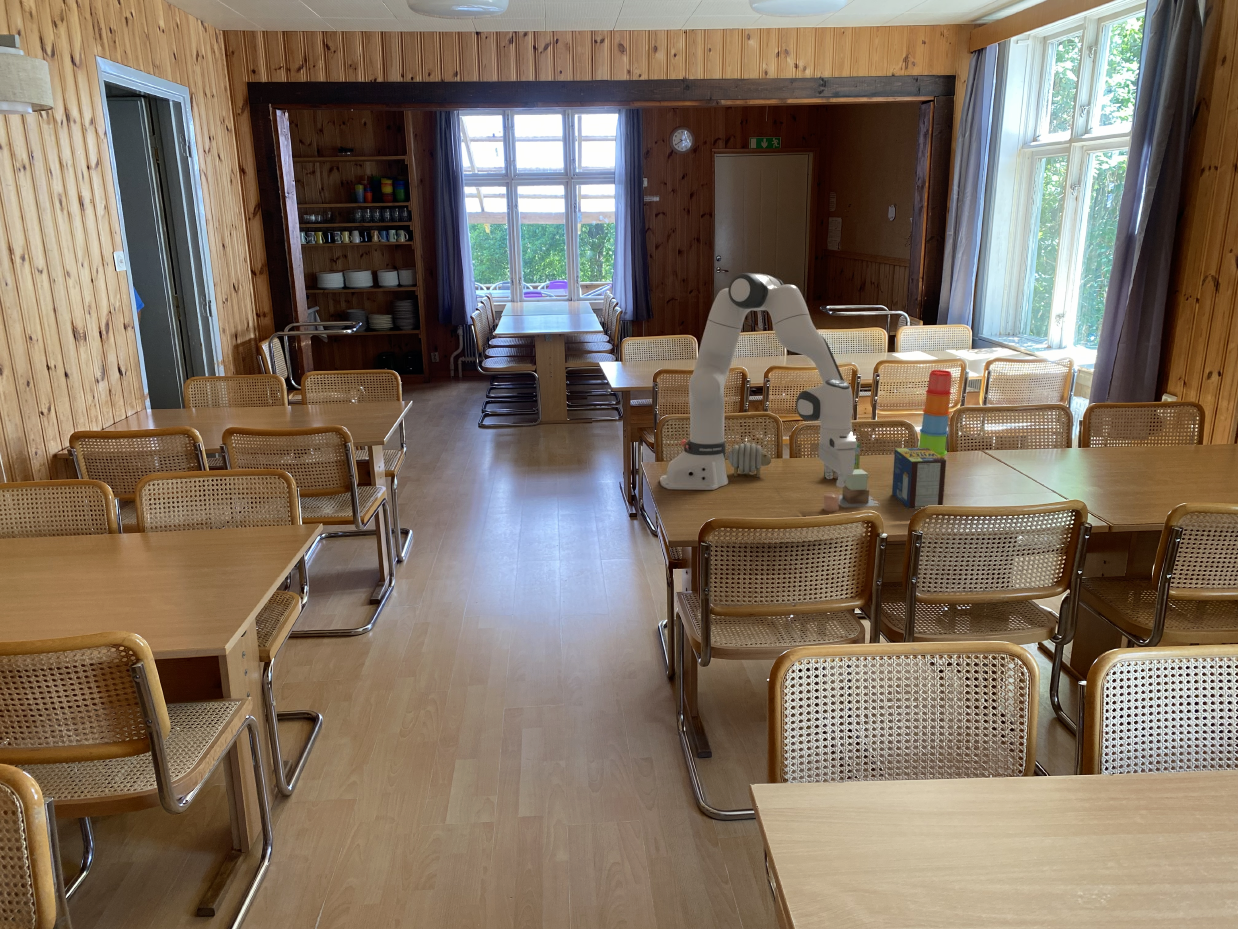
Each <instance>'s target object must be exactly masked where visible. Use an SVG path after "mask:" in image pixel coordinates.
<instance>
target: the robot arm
mask: <svg viewBox="0 0 1238 929" xmlns="http://www.w3.org/2000/svg"><path fill="white" fill-rule="evenodd" d="M808 309H809V308H808V306H807V303H806V301H805V299H804V297H803V295H802V292H801V291H800V288H798V286H796V285H794V284H788V283H787V284H785V283H784V282H783V281H782V280H781V279H779V278H777V277H775V276H773V275H768V274H766V273H764V274H763V273H752V272H745V273H744V272H742V273H740V274H738V275H736V276H734V277H733V278H732V280H731V281H730V282H729V286H728V287H725V288H723V289H721V290H719V292H718V293H717V295H716V297H715V300H714V301H713V302H712V305H711V309H710V310H709V313H708V317H707V321H706V325H705V327H704V328H705V329H704V331H703V335H702V338H701V341H700V346H699V350H698V355H697V358H696V361H695V365H694V370H693V372H692V375H691V376H690V378H689V382H688V398H689V399H688V401H689V402H688V404H689V414H690V415H689V418H690V420H689V421H690V424H689V428H690V430H689V433H690V434H689V438H690V439H688V440H686V439H681V441H680V445H681V446H682V447H683V451H682V452H681V453H680V454H678V456H676V457H675V458H673V459H672V460H671V461H669V463H668V466H667V469H666V474H665V475H661V477H660V478H659V483H660V485H661V486H662V487H663V488H664V489H667V490H690V491H692V490H694V491H695V490H697V491H698V490H699V491H701V490H703V491H704V490H705V491H708V490H709V491H711V490H713V491H714V490H716V489H718V488H721V487H723V486H726V485H728V484H729V479H728V476H727V472H726V471H727V470H726V462H725V461H726V459H724V457H725V455H726V451H727V450H726V448H727V447H726V445H727V444H726V440H725V385H726V382H727V378H728V377H729V376H728V375H729V372H730V369H731V365H732V362H733V359H734V356H735V352H736V348H737V346H738V342H739V339H740V335H741V332H742V329H743V325H744V321H745V318H746V316H747V315H748V313H749V312H751V311H755V312H768V313H769V316H770V317H771V318H770V319H771V323H772V327H773V330H774V333H775V336H776V339H777V341H778V343H779V344H780V345H781V347H783V348H785V349H786V350H788V351H790V352H793V353H797V354H800V355H803V356H805V357H807V358H809V359H810V360H811V361H812V362H813V363H814V365H815V367H816V369H817V372H818V374H819V376H820V378H821V381H822V384H820V385H818V386H815V387H812V388H807V389H804V390H802V391H800V392H799V393H798V395H797V397H796V400H795V409H796V413H797V415H798V416H799V417H800V419H802V420H803V421H805V422H806V421H807V422H817V421H818V422H820V430H819V431H820V434H819V436H820V437H819V442H818V452H817V453H818V459H819V461H821V462H822V463H823V468H825V477H826V479H828V480H829V479H830V480H831V479H833V473H832V469H833V470H834V471H836V472H837V473H838V479H836V487H837V488H839V489H840V488H841V489H843V487H844V485H845V479H846V475H852V474H853V471H854V464H855V450H854V448H857V443H858V442H857V439H856V437H855V436H854V433H853V424H852V415H853V413H854V412H853V406H854V403H855V402H854V400H855V399H854V395H853V390H852V387H851V385H850V384H849V383H848V382H847V381H845V378H844V377H843V375H842V373H841V371H840V368H839V365H838V363H837V360H836V359H835V356H834V354H833V352H832V350H831V347H830V346H829V343H828V342H827V340H826V339H825V338H824V336H822V334H820V333H819V331H818V330H817V329H816V327H815V324H814V323H813V321H812V318H811V315H810V312H809V310H808ZM825 477H824V478H825Z"/></svg>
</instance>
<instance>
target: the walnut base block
mask: <svg viewBox="0 0 1238 929" xmlns="http://www.w3.org/2000/svg"><path fill="white" fill-rule="evenodd" d="M841 495H842V498H843V499H844V500H845V501H846V502H848V503H849V504H856V503H869V496H870V489H868V488H867V490H850V489H848V488H847V487H846V486H845V484H844V487H842V494H841Z"/></svg>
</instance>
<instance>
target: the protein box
mask: <svg viewBox="0 0 1238 929" xmlns="http://www.w3.org/2000/svg"><path fill="white" fill-rule="evenodd" d="M893 457H894V458H893V459H894V460H893V472H892V488H891V489H892V490H891V495H892V494H893V495H894V497H895V499H896V500H898V499H899V500H900V501H901V502H902V503H903V504H902V503H901V502H900V501H899V500H898V501H899V502H900V503H901V504H902V505H903V506H905V507H906V508H907V507H908V508H915V509H916V510H918V509H919V508H921V507H925V506H928V505H943V506H944V496H945V495H944V494H945V483H946V482H945V481H946V468H947V459H946V458H945V457H944V458H942V457H941V456H939V455H938V454H936V453H935V452H933V451H932V450H930V449H929V448H918V447H907V448H905V447H903V448H901V447H900V448H898V447H896V448H894V455H893ZM893 495H892V496H893ZM908 508H907V509H908ZM915 509H914V510H915ZM919 510H920V509H919Z"/></svg>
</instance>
